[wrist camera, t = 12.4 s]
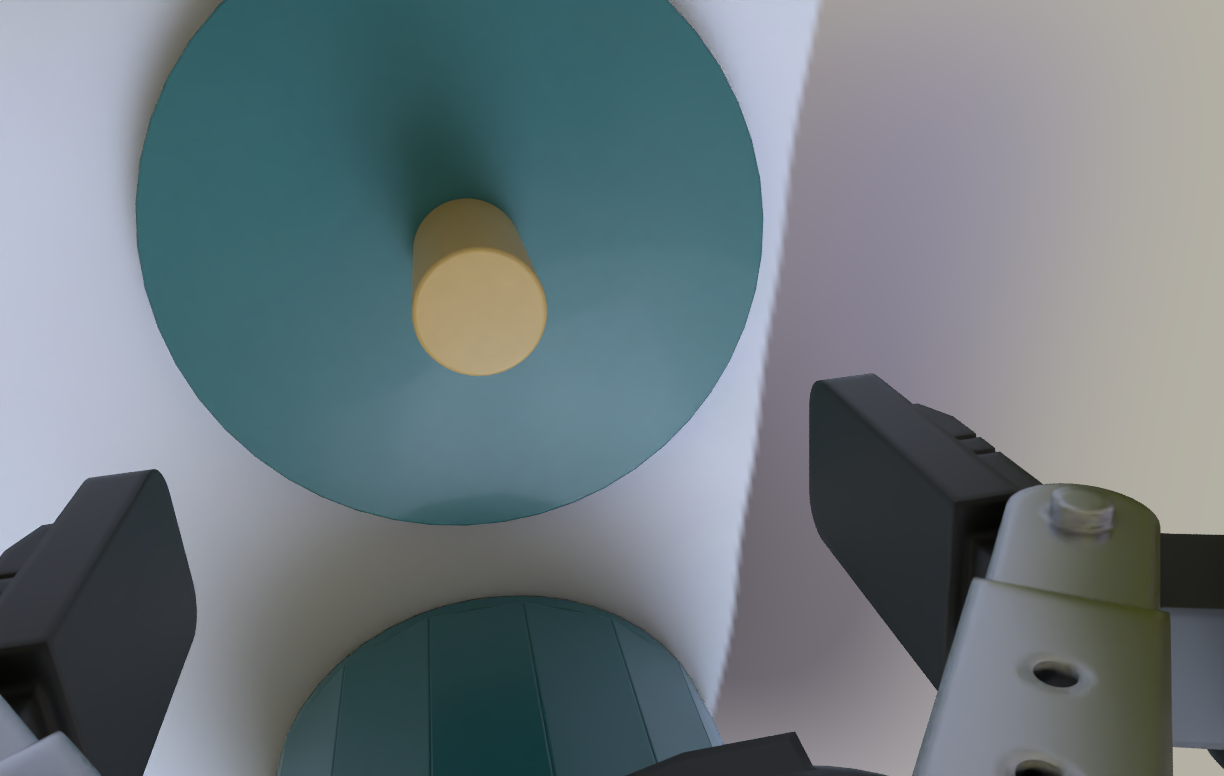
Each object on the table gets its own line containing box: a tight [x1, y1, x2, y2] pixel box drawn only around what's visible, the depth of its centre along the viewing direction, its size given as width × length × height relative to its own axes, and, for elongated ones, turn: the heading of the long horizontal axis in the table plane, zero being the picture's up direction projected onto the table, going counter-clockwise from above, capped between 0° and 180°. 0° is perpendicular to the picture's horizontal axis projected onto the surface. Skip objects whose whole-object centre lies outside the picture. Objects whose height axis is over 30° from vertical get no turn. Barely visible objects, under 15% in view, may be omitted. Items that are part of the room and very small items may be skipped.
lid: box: [135, 0, 763, 525], centre depth 20 cm, size 14×14×6 cm
